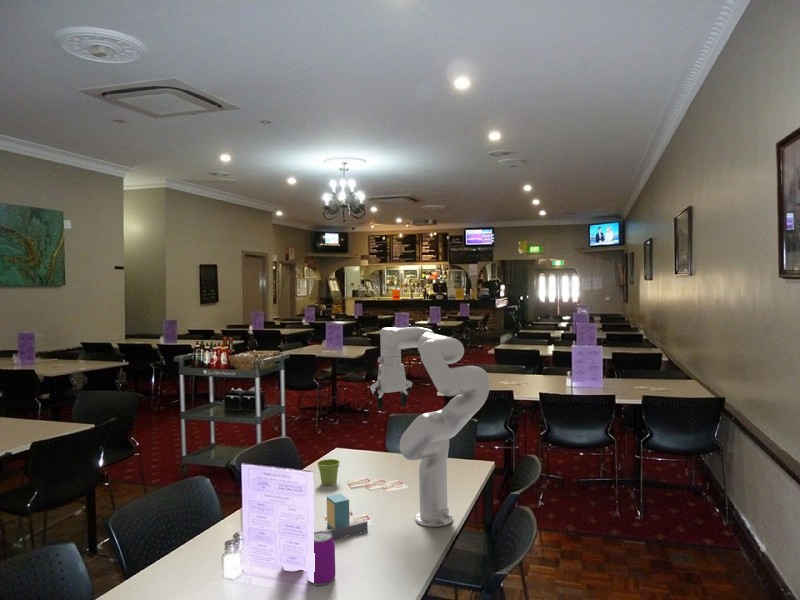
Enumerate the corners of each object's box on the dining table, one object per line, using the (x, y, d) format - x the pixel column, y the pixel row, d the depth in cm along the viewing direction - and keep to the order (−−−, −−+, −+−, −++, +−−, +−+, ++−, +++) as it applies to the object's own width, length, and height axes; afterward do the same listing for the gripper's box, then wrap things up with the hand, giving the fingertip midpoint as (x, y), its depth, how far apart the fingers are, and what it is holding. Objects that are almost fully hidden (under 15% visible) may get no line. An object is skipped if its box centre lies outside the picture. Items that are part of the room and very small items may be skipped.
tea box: (340, 522, 195) (340, 493, 195) (349, 529, 189) (349, 499, 189) (326, 526, 192) (326, 496, 192) (335, 533, 186) (334, 502, 186)
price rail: (367, 530, 188) (367, 521, 188) (327, 541, 181) (327, 531, 181) (362, 527, 191) (362, 518, 191) (323, 537, 184) (323, 527, 184)
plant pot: (312, 483, 236) (312, 462, 236) (331, 478, 242) (331, 457, 242) (325, 488, 229) (325, 467, 229) (345, 483, 235) (344, 462, 235)
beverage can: (301, 581, 156) (300, 537, 155) (320, 570, 162) (319, 527, 162) (322, 589, 151) (321, 544, 151) (341, 577, 158) (340, 533, 157)
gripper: (374, 363, 206) (375, 411, 206) (416, 360, 214) (417, 405, 214) (365, 361, 212) (366, 407, 213) (406, 358, 221) (407, 402, 221)
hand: (392, 406), depth 214 cm, fingers open, 9 cm apart
